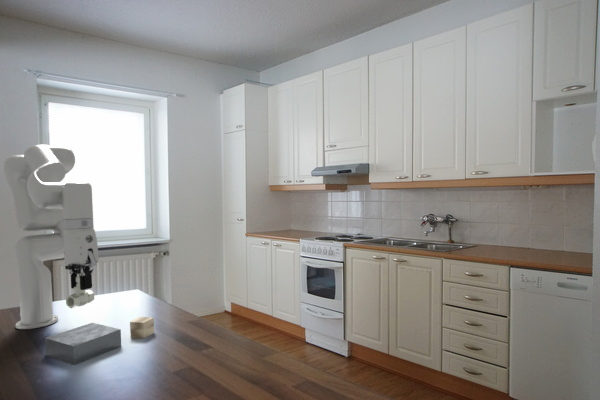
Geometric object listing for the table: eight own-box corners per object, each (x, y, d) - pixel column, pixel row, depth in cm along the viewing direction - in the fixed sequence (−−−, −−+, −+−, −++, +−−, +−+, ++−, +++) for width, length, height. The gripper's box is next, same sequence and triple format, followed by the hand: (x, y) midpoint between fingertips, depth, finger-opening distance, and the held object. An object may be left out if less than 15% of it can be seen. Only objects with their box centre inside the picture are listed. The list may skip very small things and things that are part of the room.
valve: (61, 308, 110) (59, 266, 110) (81, 302, 117) (79, 262, 117) (79, 309, 108) (77, 266, 108) (99, 303, 114) (96, 262, 114)
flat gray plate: (45, 355, 111) (44, 337, 111) (93, 338, 123) (92, 322, 123) (74, 364, 104) (73, 346, 104) (121, 346, 116) (120, 329, 116)
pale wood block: (130, 337, 123) (129, 321, 123) (141, 331, 128) (140, 316, 128) (144, 338, 122) (143, 322, 122) (154, 332, 126) (153, 317, 126)
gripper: (108, 224, 112) (111, 287, 112) (75, 223, 120) (77, 283, 120) (82, 226, 105) (86, 294, 106) (49, 225, 113) (52, 288, 114)
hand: (81, 287), depth 113 cm, fingers closed on valve, 3 cm apart
